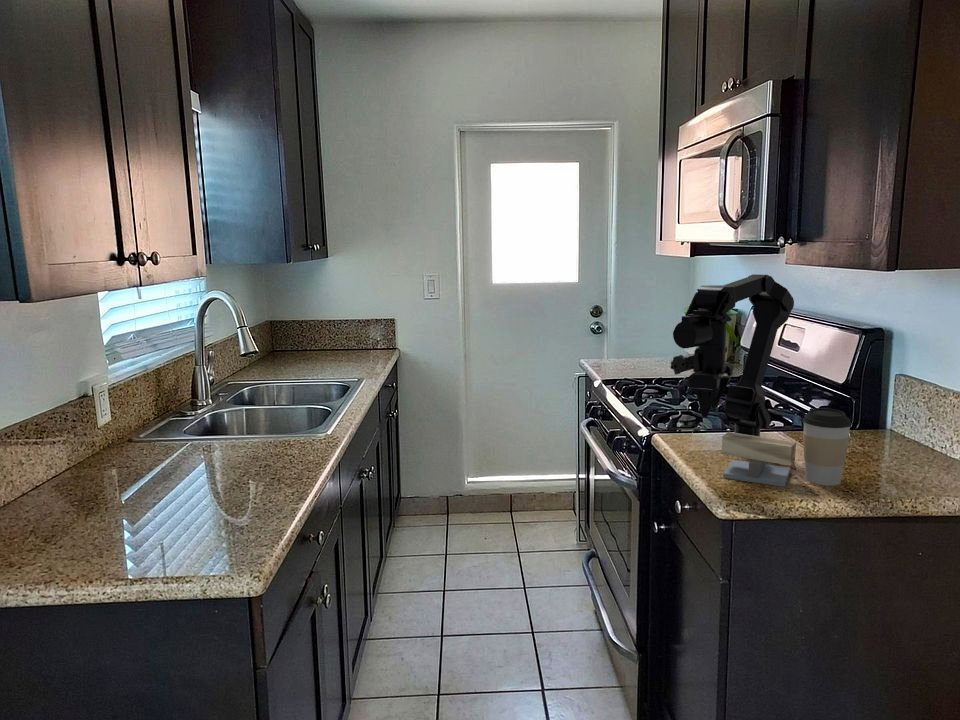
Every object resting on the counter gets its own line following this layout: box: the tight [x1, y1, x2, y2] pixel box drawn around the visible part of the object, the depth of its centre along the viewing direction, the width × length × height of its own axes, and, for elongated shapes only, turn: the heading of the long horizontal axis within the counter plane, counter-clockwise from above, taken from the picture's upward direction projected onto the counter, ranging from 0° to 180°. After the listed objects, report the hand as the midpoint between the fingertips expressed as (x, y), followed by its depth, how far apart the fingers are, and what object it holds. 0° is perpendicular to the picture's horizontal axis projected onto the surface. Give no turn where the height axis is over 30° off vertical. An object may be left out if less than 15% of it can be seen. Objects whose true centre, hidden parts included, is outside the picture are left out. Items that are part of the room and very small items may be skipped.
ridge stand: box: [722, 459, 791, 488], centre depth 146 cm, size 10×12×4 cm
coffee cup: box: [802, 407, 852, 487], centre depth 141 cm, size 9×9×15 cm
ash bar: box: [721, 431, 797, 466], centre depth 145 cm, size 4×14×4 cm, turn 52°
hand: (709, 412), depth 152 cm, fingers open, 9 cm apart
